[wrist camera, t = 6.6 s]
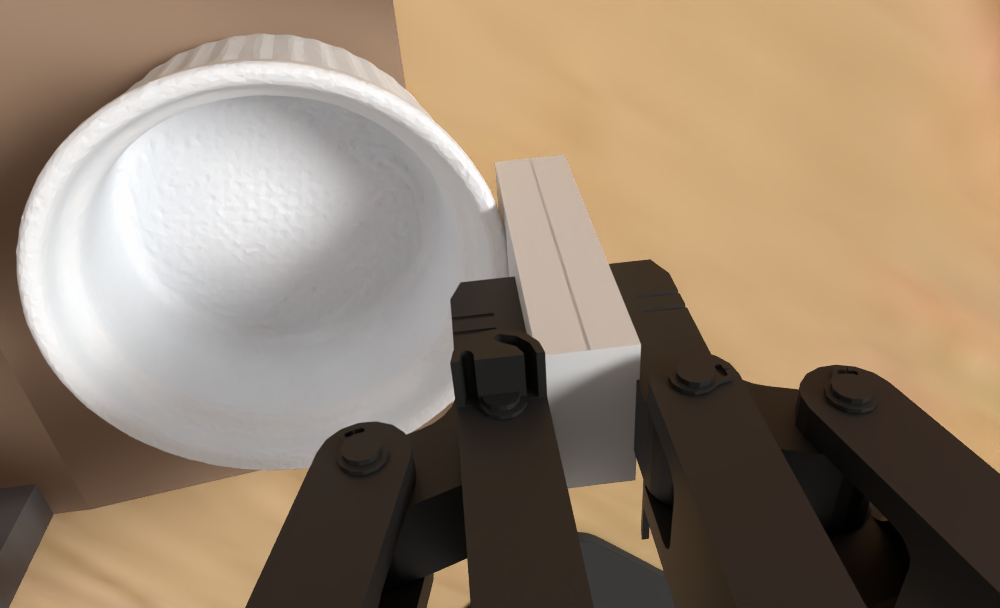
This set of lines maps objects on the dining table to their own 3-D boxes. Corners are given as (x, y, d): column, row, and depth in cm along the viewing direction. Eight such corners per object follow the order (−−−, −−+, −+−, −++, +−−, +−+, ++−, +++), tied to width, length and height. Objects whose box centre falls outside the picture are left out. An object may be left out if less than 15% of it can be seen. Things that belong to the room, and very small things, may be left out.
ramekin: (50, 320, 18) (-7, 446, 15) (99, -65, 14) (38, -17, 11) (405, 379, 22) (428, 493, 18) (524, 79, 18) (583, 152, 14)
